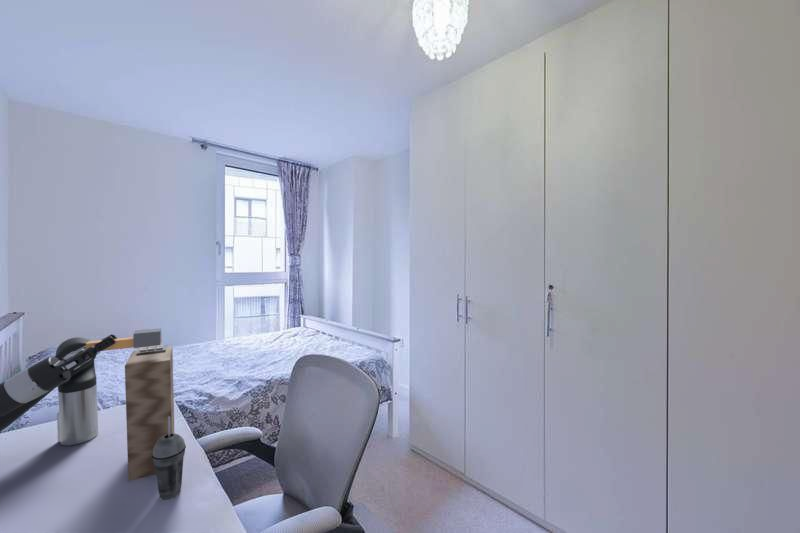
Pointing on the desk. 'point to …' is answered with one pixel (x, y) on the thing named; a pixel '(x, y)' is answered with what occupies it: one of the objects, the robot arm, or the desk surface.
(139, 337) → the mallet
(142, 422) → the brown wooden tall block
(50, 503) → the desk surface
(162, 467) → the beverage cup
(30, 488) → the desk surface
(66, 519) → the desk surface
